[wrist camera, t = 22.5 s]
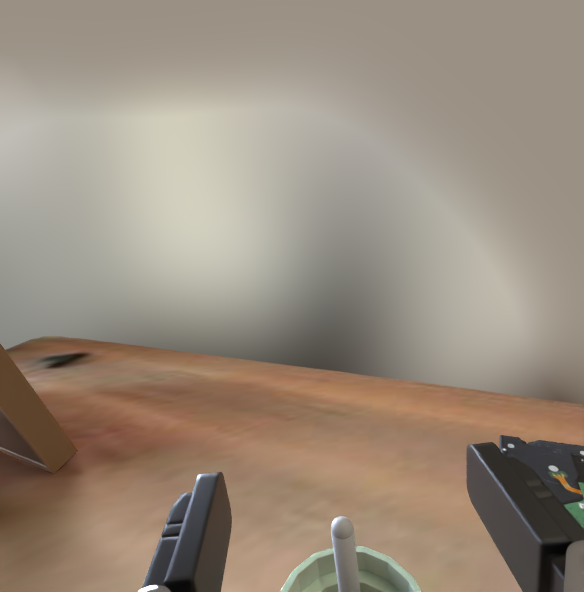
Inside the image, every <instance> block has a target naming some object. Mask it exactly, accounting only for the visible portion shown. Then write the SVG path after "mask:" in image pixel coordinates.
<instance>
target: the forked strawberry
mask: <svg viewBox="0 0 584 592" xmlns="http://www.w3.org/2000/svg"><path fill="white" fill-rule="evenodd" d="M331 534H332V542H333V550H334V557H335V565H336V573H337V581H338V589H339V592H360V583H359V574H358V565H357V555H356V546H355V537H354V528H353V524H352V522H351V521H350V520H349V519H348V518H347V517H344V516H339V517H337V518H335V519H334V520H333V522H332V525H331Z"/></svg>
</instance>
